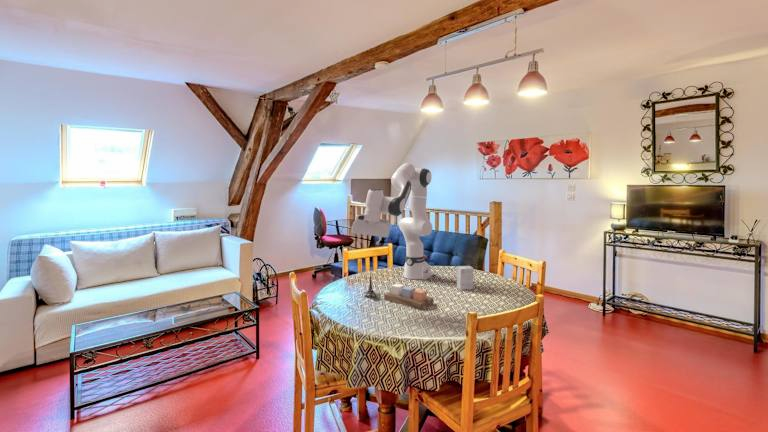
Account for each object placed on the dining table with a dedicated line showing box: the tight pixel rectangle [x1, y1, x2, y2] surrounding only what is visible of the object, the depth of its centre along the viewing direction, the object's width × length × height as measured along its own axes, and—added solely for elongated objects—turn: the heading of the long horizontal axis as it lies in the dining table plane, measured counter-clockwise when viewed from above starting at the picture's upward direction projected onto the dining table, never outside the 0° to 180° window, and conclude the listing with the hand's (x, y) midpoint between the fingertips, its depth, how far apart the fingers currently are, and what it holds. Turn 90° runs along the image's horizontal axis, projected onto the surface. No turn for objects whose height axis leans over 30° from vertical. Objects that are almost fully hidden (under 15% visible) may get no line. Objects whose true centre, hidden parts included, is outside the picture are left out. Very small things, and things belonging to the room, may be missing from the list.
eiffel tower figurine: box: [363, 275, 382, 302], centre depth 222 cm, size 15×10×13 cm
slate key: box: [402, 285, 416, 299], centre depth 215 cm, size 5×5×5 cm
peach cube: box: [413, 288, 428, 302], centre depth 210 cm, size 5×5×5 cm
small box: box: [456, 265, 474, 291], centre depth 238 cm, size 8×6×13 cm
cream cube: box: [390, 283, 405, 296], centre depth 220 cm, size 5×5×5 cm
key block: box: [383, 291, 434, 311], centre depth 215 cm, size 12×24×3 cm, turn 50°
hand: (368, 243), depth 213 cm, fingers open, 8 cm apart
